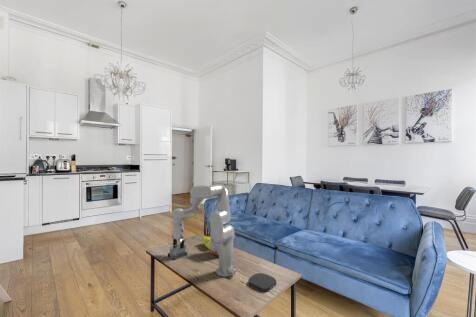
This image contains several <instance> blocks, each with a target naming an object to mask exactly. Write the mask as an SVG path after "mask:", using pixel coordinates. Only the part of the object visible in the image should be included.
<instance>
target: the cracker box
mask: <svg viewBox="0 0 476 317" xmlns="http://www.w3.org/2000/svg"><path fill="white" fill-rule="evenodd" d="M209 230H210V231H209V232H210V233H209V234H210V250H209V253H210V254H211V255H215V256H218V257H219V244H216V243H215V242H214V241H213V239H212V236H211V227H210V229H209Z"/></svg>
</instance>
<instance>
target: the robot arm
mask: <svg viewBox="0 0 476 317" xmlns="http://www.w3.org/2000/svg"><path fill="white" fill-rule="evenodd" d="M229 196H230V194H229V191H228V188H227V187H226V186H225V185H222V184H212V185H204V184H203V185H195V186H193V187H192V188H191V189H190V198H189V203H190V204H191V207H189V208H186V209H183V208H179V207H178V208H175V209H174V210H173V228H172V229H173V230H172V233H171V236H172V237H171V238H172V244H173V245H172V246H175V245H178V241H179V242H180V243H179V244H180V249H182V248H184V244H185V242H186V237H185V236H186V235H185V234H186V233H185V226H184V221H186V220H189V219H192V218H194V217H196V215H198V213H199V211H200V208H201V204H202V202H203V201H204V200H205V199H206V200H207V199H209V200H210V199H213V198H217V199H216V200H217V201H216V211H214V212H212V213H211V215H210V218H209V226H210V228H211V236H212V239H213V241H214V242H215V243H216V244H219V256H218V267H217V269H216V271H215V273H216V275H218V276H219V277H223V278H224V277H225V278H227V277H228V278H229V277H232V276H235V275H236V272H237V270H236V269H235V266H234V264H233V262H234V259H233V258H234V256H233V255H234V240H235V228H234V227H233V225H231V224H227V223H229V222H230V221H231V217H232V216H231V208H230V206H231V205H230V198H229Z"/></svg>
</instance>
